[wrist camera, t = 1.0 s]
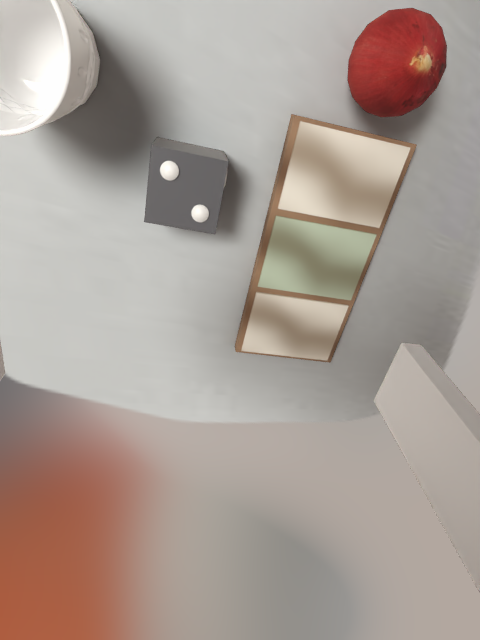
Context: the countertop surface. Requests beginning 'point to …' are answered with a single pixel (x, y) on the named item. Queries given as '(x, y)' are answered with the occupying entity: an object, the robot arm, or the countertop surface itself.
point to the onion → (397, 62)
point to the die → (185, 185)
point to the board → (319, 237)
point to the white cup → (43, 63)
